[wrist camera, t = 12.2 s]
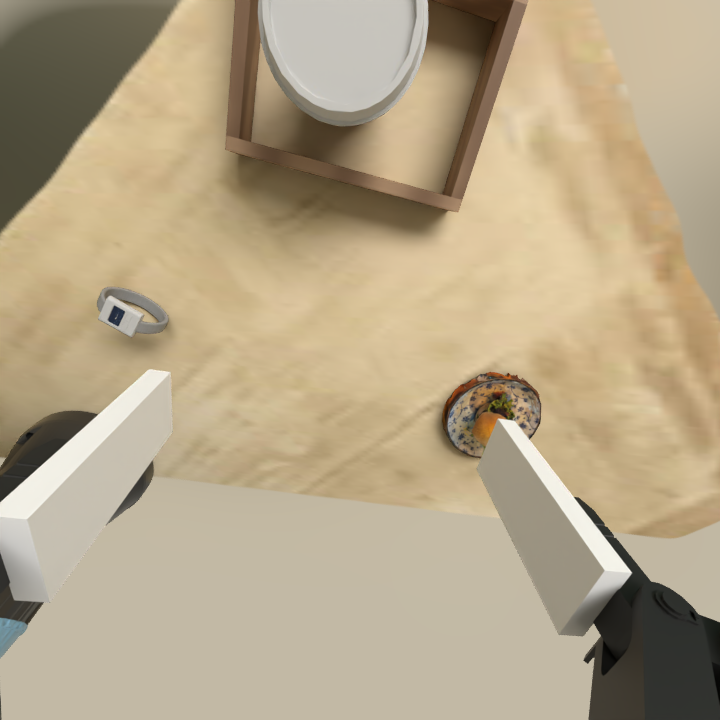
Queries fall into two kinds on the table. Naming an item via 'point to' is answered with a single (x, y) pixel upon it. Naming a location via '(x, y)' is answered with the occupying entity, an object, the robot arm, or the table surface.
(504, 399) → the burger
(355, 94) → the disposable coffee cup
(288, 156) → the rectangular wooden frame
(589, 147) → the table surface
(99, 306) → the wristwatch
